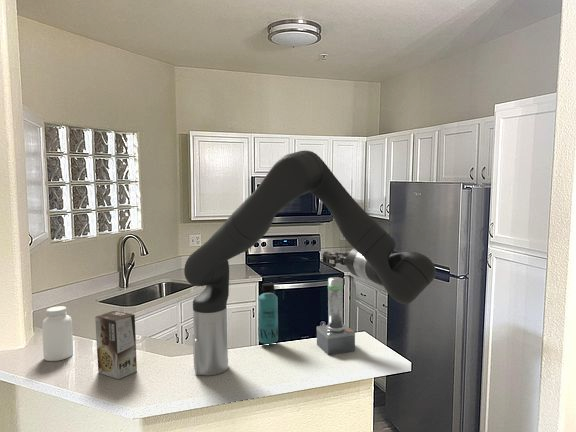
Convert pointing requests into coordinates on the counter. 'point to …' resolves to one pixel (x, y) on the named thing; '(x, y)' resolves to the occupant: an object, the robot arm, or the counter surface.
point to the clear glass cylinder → (335, 305)
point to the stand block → (335, 340)
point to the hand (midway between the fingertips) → (339, 254)
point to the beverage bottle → (268, 315)
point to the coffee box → (116, 344)
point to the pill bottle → (57, 334)
